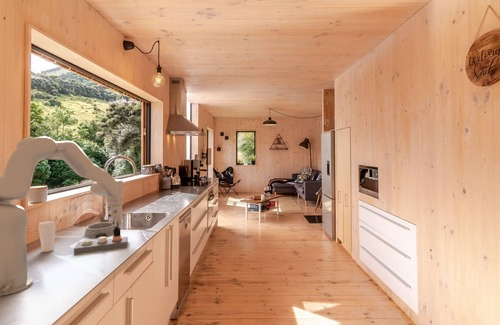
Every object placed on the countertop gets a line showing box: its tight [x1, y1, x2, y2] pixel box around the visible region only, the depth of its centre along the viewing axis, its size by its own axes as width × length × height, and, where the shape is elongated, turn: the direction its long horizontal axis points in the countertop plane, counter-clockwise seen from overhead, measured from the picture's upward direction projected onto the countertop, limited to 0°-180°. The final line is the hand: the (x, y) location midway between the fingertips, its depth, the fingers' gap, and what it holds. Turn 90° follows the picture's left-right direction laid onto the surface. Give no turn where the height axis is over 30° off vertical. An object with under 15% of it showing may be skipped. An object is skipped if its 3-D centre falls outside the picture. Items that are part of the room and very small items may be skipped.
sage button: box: [82, 239, 93, 246], centre depth 139 cm, size 4×4×3 cm
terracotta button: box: [112, 234, 122, 242], centre depth 144 cm, size 4×4×3 cm
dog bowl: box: [84, 221, 114, 239], centre depth 169 cm, size 17×18×5 cm
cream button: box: [97, 236, 108, 244], centre depth 142 cm, size 4×4×3 cm
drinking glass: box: [38, 220, 56, 253], centre depth 138 cm, size 7×7×15 cm
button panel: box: [73, 236, 129, 255], centre depth 142 cm, size 10×24×3 cm, turn 112°
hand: (117, 235), depth 144 cm, fingers closed
